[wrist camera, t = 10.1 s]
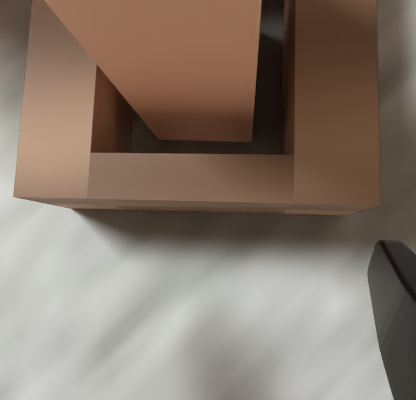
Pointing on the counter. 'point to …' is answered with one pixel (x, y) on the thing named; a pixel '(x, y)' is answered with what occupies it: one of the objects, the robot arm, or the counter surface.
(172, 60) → the peach rectangular block
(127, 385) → the counter surface
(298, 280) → the counter surface
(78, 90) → the slotted block
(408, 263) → the robot arm
